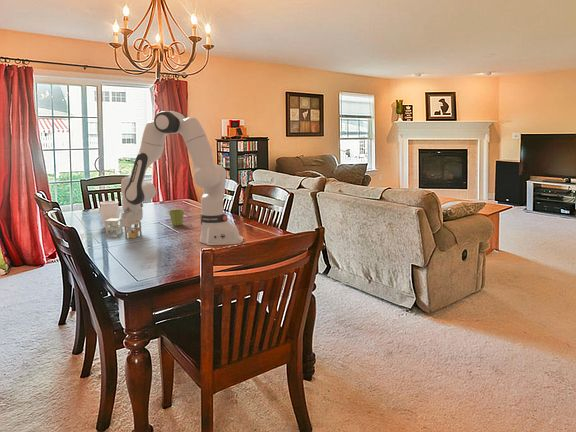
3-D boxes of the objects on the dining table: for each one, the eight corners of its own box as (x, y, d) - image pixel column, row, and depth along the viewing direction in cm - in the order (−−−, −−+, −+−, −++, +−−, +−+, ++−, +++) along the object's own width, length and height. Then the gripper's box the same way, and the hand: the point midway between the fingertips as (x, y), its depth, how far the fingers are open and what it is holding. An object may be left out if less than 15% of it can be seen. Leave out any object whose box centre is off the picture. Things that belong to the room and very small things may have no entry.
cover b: (122, 232, 240) (121, 218, 238) (117, 235, 233) (116, 220, 232) (111, 232, 240) (110, 218, 238) (106, 235, 233) (105, 220, 232)
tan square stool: (141, 235, 233) (140, 220, 232) (137, 238, 227) (136, 223, 225) (130, 235, 233) (129, 220, 232) (125, 238, 227) (124, 223, 226)
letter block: (138, 236, 232) (138, 228, 231) (135, 237, 228) (135, 230, 227) (131, 235, 232) (130, 228, 231) (128, 237, 228) (127, 230, 228)
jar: (124, 226, 256) (122, 201, 253) (109, 229, 247) (106, 203, 245) (113, 224, 262) (111, 200, 259) (98, 227, 253) (95, 202, 250)
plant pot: (166, 226, 255) (165, 212, 254) (173, 223, 264) (172, 209, 263) (181, 226, 254) (180, 212, 252) (187, 223, 263) (187, 209, 261)
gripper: (129, 209, 217) (131, 236, 219) (144, 203, 237) (145, 227, 239) (117, 209, 217) (119, 236, 220) (132, 203, 237) (134, 227, 240)
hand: (133, 231), depth 230 cm, fingers closed on tan square stool, 6 cm apart
